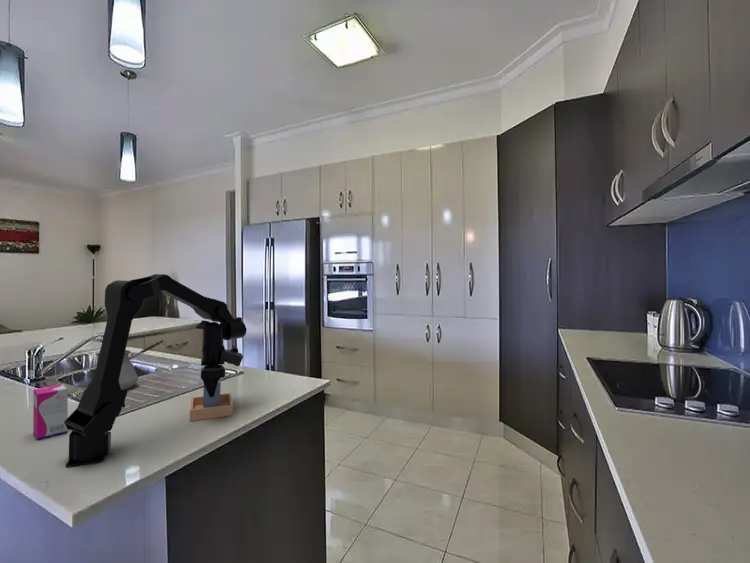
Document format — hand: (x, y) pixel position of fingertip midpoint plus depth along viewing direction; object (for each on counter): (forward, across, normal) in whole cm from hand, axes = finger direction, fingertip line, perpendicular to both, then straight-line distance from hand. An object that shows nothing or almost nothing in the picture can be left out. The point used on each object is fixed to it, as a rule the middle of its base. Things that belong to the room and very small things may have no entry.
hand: (211, 394), depth 106 cm
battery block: (+3, 0, 0) cm, 3 cm away
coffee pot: (+5, +37, +25) cm, 45 cm away
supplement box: (+6, -1, +37) cm, 37 cm away
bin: (+5, 0, 0) cm, 5 cm away
